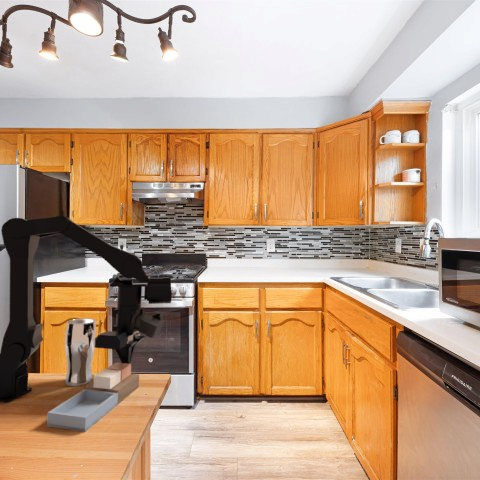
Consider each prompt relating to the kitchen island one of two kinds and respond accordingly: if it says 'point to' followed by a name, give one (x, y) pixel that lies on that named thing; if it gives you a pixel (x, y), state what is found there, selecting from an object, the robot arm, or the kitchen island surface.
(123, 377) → the terracotta tile
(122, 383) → the dark walnut board
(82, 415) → the slate tray
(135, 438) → the kitchen island surface
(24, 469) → the kitchen island surface
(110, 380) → the cream tile
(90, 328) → the beer glass
